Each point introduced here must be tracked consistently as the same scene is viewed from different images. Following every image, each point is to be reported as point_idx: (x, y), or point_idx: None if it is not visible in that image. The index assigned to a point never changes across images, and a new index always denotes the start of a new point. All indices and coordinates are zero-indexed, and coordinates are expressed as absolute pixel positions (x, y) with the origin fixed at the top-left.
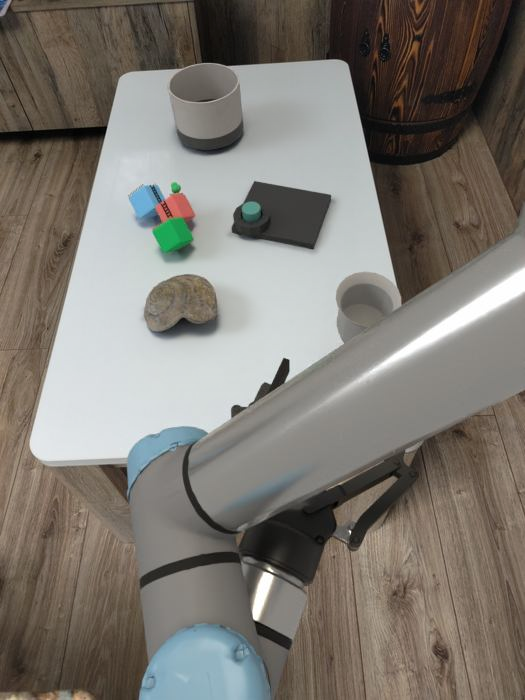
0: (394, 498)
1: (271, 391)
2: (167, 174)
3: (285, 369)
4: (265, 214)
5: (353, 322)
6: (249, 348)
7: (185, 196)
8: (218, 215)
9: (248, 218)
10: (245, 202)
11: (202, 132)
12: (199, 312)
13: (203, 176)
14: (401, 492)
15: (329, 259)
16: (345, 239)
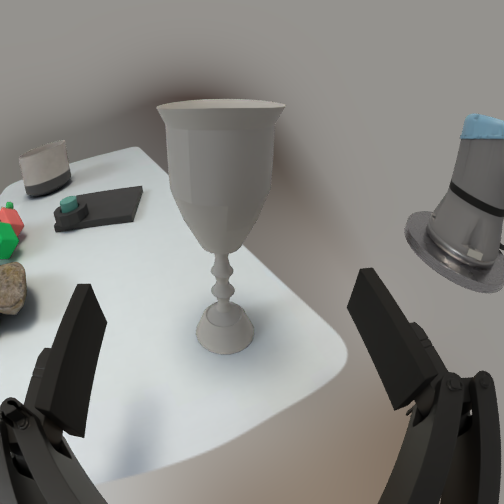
0: (498, 447)
1: (53, 363)
2: None
3: (83, 305)
4: (82, 204)
5: (209, 109)
6: None
7: (16, 211)
8: (46, 225)
9: (65, 209)
10: None
11: (38, 178)
12: (4, 295)
13: (39, 208)
14: (498, 427)
15: (151, 224)
16: (162, 208)
